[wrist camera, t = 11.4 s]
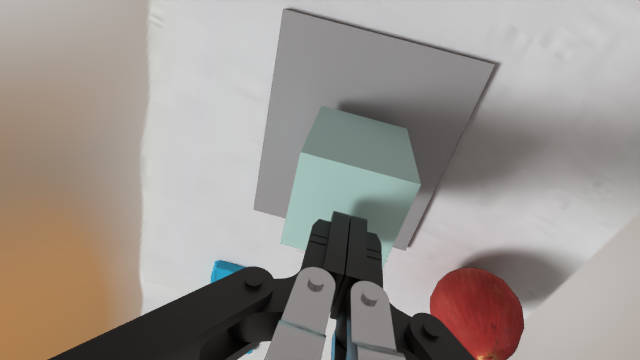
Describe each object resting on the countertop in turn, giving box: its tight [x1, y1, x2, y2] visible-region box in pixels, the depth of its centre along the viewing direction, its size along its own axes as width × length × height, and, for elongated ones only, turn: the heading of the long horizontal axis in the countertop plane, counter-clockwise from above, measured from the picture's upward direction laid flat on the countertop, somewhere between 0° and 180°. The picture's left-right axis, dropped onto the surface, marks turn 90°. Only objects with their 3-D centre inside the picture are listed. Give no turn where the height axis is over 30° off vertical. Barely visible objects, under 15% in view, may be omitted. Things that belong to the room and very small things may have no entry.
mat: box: [254, 9, 495, 250], centre depth 22 cm, size 14×12×1 cm
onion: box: [430, 268, 524, 360], centre depth 22 cm, size 6×6×8 cm
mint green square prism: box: [280, 106, 421, 269], centre depth 18 cm, size 5×5×7 cm
